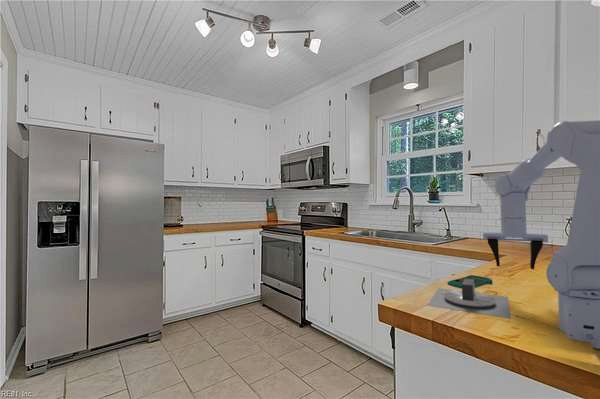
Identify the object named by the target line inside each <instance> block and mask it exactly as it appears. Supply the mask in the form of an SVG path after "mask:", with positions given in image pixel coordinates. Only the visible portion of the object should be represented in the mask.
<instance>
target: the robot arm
mask: <svg viewBox="0 0 600 399" xmlns="http://www.w3.org/2000/svg"><path fill="white" fill-rule="evenodd" d="M561 157H562V158H563V159H565V161H567V162H569V163H571V164H574V165H575V166H576V167H577V168H578V169H579V172H580V173H579V179H578V184H577V188H576V194H575V199H574V205H573V209H572V216H571V221H570V225H569V226H570V227H569V232H568V237H567V238H568V239H567V244H565V245H564V246H563V247H561V248H559V249H558V250H556V251H555V252H553V253H552V259H551V261H550V262H549V263H548V264H547V267H546V271H545V273H546V278H547V282H548V283H549V284H550V286H551V287H552V288H553V290H554V291H556V292H558V295H557V296H558V297H557V298H558V301H557V302H558V326H559V327H558V328H559V330H560V331H562V332H563V333H564V334H565V335H566V337H567V339H569V340H574V341H580V342H584V343H585V342H586V343H589V344H590V345H591V347H592V348H593V349H598V350H600V120H599V119H598V120H576V121H567V120H562V121H559V122H557V123H555V124H554V125H553V127H552V128H551V129H550V130H548V132H547V137H546V142H545V143H544V144H543V145H542V146H541V147H540V149H539V150H538V151H537V152H536V153H535V154H534V155H533V157H531V158H523V159H521V160H520V161H519V163H518V164H517V165H516V166H515V167H514V168H513V169H512V170H511V171H509V173H507V174H506V173H505V174H499V175H498V176H497V177H496V180H495V184H494V188H495V191H496V193H497V195H498V196H500V197H499V199H500V200H499V201H500V224H501V226H500V227H501V229H500V231H501V232H483V233H482V236H483V237H482V239H483V241H487V243H488V246H489V248H490V250H491V251H492V254H493V256H494V259H495V262H496V264H495V265H496V267H501V266H500V265H501V263H500V254H499V241H510V242H514V241H515V242H529V245H530V246H529V247H530V248H529V251H530V260H529V263H530V264H529V265H530V269H531V270H535V266H536V265H535V264H536V261H537V258H538V255H539V254H540V252H541V250H542V249H543V247H544V243H549V237H548V236H549V235H548V234H545V233H544V234H542V233H541V234H540V233H527V212H526V211H527V207H526V202H527V201H528V199H529V192H530V190H531V186H532V185H533V184H534V183H535V182H537V181H538V180H539V179H541V178H542V177H543V176H544V175H545V173H546V169H545V168H547V167H548V166H550V165H551V164H553V163H554V162H556V161H557V160H558V159H560V158H561Z"/></svg>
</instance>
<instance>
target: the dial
mask: <svg viewBox="0 0 600 399" xmlns="http://www.w3.org/2000/svg"><path fill="white" fill-rule="evenodd" d="M451 290H452V291H447V292H445V293H444V298H445V300H447V301H448V302H450V303H453V304H456V305H460V306H465V307H472V308H488V307H492V306H494V305H495V299H494V298H493V297H492V296H490V295H491V294H489V295H487V293H483V292H479V291H476V287H475V281H474V279H466V278H464V280H463V283H462V288H461V289H451Z"/></svg>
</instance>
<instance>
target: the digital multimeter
mask: <svg viewBox="0 0 600 399" xmlns="http://www.w3.org/2000/svg"><path fill="white" fill-rule="evenodd" d="M464 278H466V279H474V281H475V288H478V287H480V286H484V285H491V286H493V279H492V278H489V277H485V276H480V275H473V274H470V275H467V276H463V277H460V278H456V279H452V280H448V281H447V285H449V286H451V287H455V288H459V289H460V288H461V289H462V283H463V280H464Z"/></svg>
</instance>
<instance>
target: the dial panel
mask: <svg viewBox="0 0 600 399" xmlns="http://www.w3.org/2000/svg"><path fill="white" fill-rule="evenodd" d="M452 290H453V289H447V288H439V287H438V288H437V289H436V291H435V292H434V294H433V296H432V297H431V299H430V300H429V301H428V303H427V306H428V307H434V308H435V307H436V308H441V309H446V310H447V309H448V310H453V311H454V310H455V311H460V312H467V313H473V314H479V315H485V316H492V317H498V318H503V319H510V320H511V319H512V318H511V310H510V301H509V296H503V295H497V294H495V295H494V294H487V293H486V294H487V295H490V296H492V297H493V298H494V299H495V305H494V306H492V307H488V308H472V307H465V306H460V305H456V304H453V303H450V302H448V301H447V300H445V298H444V293H445V292H447V291H452Z"/></svg>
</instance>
